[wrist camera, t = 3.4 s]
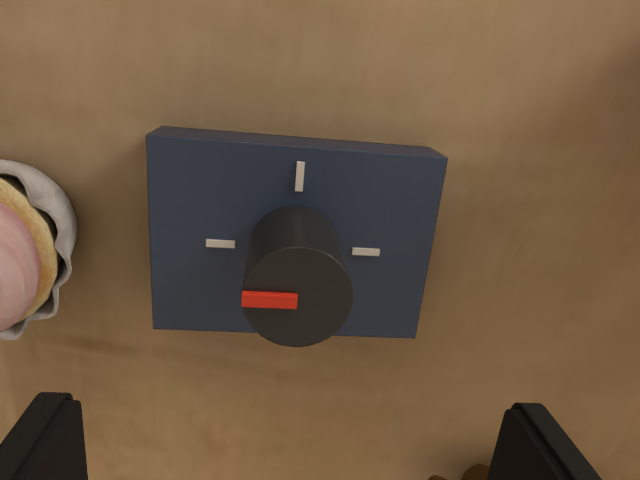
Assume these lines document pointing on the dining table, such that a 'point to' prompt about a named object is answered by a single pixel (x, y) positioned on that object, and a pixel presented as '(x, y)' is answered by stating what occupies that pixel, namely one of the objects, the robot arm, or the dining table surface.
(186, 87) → the dining table surface
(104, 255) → the dining table surface
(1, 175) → the cupcake
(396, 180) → the dial panel
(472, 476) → the rolling pin
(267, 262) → the dial
